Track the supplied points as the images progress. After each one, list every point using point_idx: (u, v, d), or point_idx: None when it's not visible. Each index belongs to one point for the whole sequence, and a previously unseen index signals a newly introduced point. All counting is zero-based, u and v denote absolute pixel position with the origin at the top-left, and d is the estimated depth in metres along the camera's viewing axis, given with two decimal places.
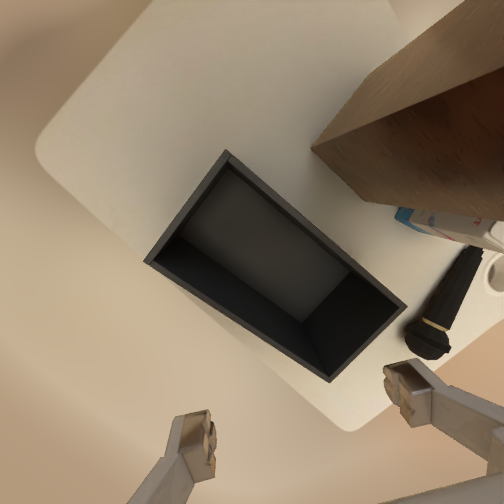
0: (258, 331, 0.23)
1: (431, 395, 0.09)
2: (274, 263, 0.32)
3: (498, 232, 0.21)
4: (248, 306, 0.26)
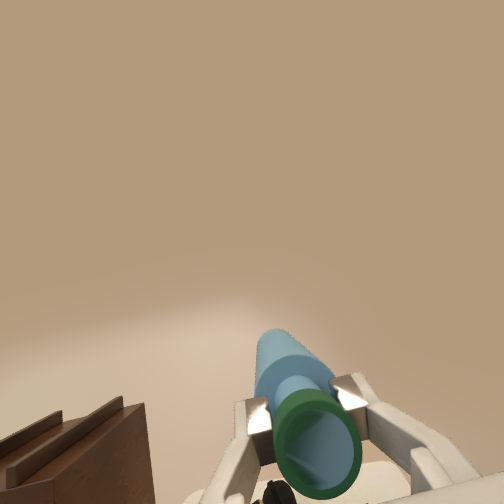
0: None
1: (366, 411, 0.09)
2: None
3: None
4: None
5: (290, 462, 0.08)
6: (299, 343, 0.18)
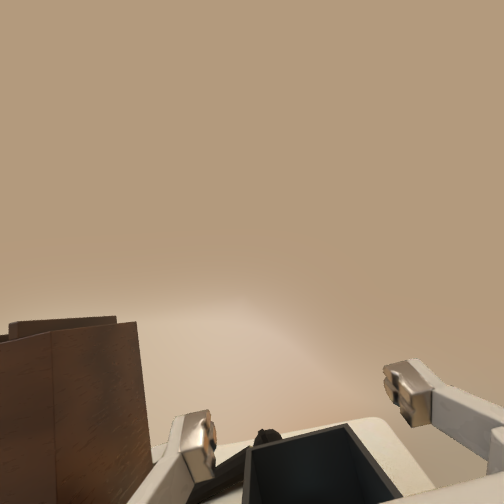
0: (394, 495, 0.16)
1: (431, 395, 0.09)
2: None
3: (156, 458, 0.26)
4: None
5: None
6: None
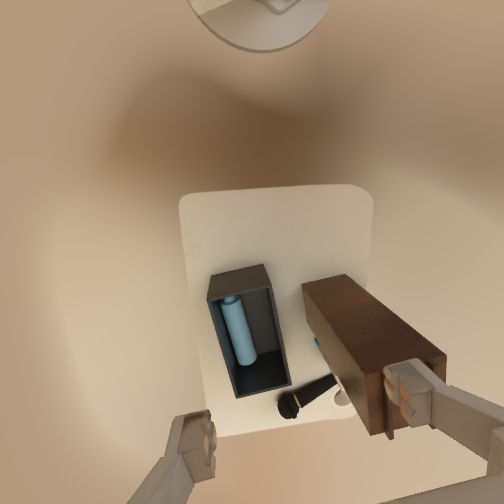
0: (226, 356, 0.44)
1: (431, 395, 0.09)
2: None
3: None
4: (225, 339, 0.47)
5: None
6: None
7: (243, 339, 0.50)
